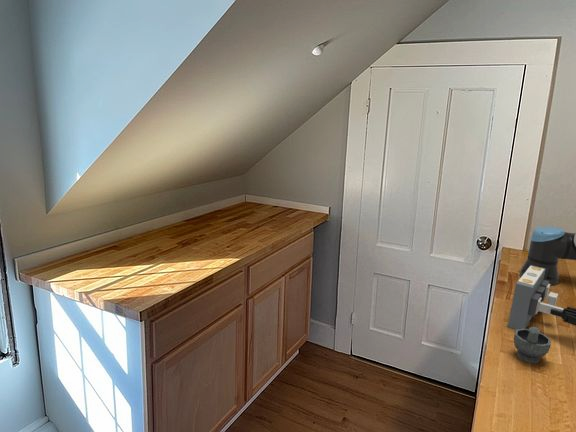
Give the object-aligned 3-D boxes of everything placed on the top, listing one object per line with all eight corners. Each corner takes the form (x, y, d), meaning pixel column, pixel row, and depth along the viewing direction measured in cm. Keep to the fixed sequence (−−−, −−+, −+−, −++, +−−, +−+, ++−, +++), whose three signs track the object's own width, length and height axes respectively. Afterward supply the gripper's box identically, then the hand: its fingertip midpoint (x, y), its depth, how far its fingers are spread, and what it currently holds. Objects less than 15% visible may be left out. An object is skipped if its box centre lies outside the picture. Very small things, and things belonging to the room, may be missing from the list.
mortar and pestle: (512, 345, 137) (519, 310, 134) (546, 355, 132) (555, 319, 129) (508, 361, 127) (516, 324, 124) (545, 373, 123) (554, 335, 120)
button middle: (547, 303, 152) (550, 291, 151) (555, 305, 151) (558, 293, 150) (545, 307, 149) (548, 295, 148) (553, 309, 147) (556, 297, 146)
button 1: (531, 307, 148) (533, 295, 147) (539, 309, 147) (541, 297, 146) (528, 311, 145) (531, 299, 144) (536, 314, 144) (539, 301, 142)
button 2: (540, 293, 160) (543, 282, 159) (547, 295, 159) (550, 284, 158) (538, 297, 157) (540, 285, 156) (545, 299, 156) (548, 287, 155)
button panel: (522, 304, 167) (530, 263, 162) (543, 310, 162) (552, 268, 158) (507, 326, 148) (516, 281, 144) (530, 334, 144) (540, 288, 140)
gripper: (624, 351, 127) (534, 323, 140) (625, 334, 137) (540, 310, 150) (631, 328, 125) (538, 302, 139) (631, 312, 135) (545, 290, 149)
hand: (539, 306), depth 144 cm, fingers closed
